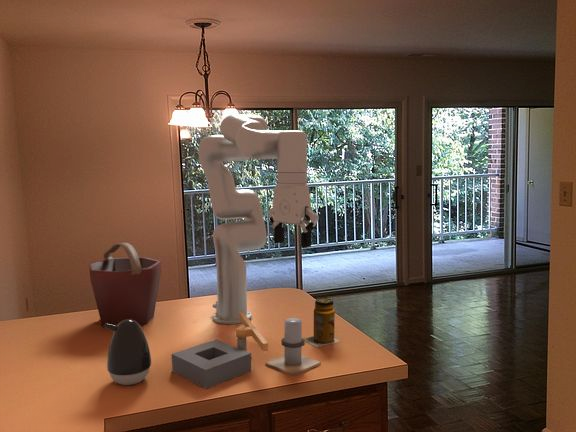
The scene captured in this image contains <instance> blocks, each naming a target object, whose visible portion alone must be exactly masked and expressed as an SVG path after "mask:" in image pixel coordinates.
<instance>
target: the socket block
mask: <svg viewBox="0 0 576 432" xmlns="http://www.w3.org/2000/svg"><path fill="white" fill-rule="evenodd" d="M236 341H237V342H236V344H237V345H236V346H235V345H232V344H230V343H227V342H224V341H222V340H219V339H217V338H216V339H213V340H209V341H207V342H203V343H201V344H198V345H194V346H192V347H188V348H184V349H183V350H179V351H177V352H173V353H171V372H172V373H174V374H177V375H178V376H181V377H182V378H184V379H186V380H188V381H190V382H192V383H193V384H196V385H198V386H199V387H201V388H204V389H205V390H207V389H209V388H213V387H215V386H216V385H217V386H218V385H220V384H222V383H224V382H227V381H229V380H232V379H234V378H237V377H239V376H241V375H244V374H247V373H249V372H251V371H252V360H251V359H252V353H251V352H249V351H247V337H246V338H237V337H236Z"/></svg>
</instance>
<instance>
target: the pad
mask: <svg viewBox="0 0 576 432" xmlns="http://www.w3.org/2000/svg"><path fill="white" fill-rule="evenodd" d="M321 363H322V362H321V361H319V360H316V359H313V358H312V357H311V358H310V357H308V356H305V355H302V354H301V364H299V365H295V366H291V365H287V364H285V363H284V355H281V356H279V357H277V358H274V359H272V360H268V361H266V362H265V366H267V367H270V368H272V369H274V370H277V371H280V372H283V373H285V374H287V375H290V376H292V377H295V376H298V375H301V374H303V373H304V372H308V371H309V370H312V369H313V368H315V367H318V366H321Z"/></svg>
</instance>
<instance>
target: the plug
mask: <svg viewBox="0 0 576 432" xmlns="http://www.w3.org/2000/svg"><path fill="white" fill-rule="evenodd" d="M302 328H303V322H302V319H300V318H297V317H296V318H295V317H289V318H286V319H284V332H283V333H284V335H283V336H284V337H282V338H281V339H280V341H281V342H280V343H281V346H283V347H284V348H283V349H284V355H283V356H284V363H285V364H287V365H291V366H295V365H299V364H301V355H302V347H303V346H305V344H306V343H305V342H306V341H305V340H304V338H303V337H302V335H303V333H302V332H303V331H302V330H303V329H302Z"/></svg>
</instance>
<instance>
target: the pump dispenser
mask: <svg viewBox="0 0 576 432" xmlns="http://www.w3.org/2000/svg"><path fill="white" fill-rule="evenodd" d="M104 328H105V329H108V330H110V331H112V332H113V334H112V336H111V339H110V342H109V347H108V351H107V360H106V368H107V369H106V370H107V372H108V373H109V375H110V377H111V379H112V380H113V381H114V382H115V383H116V384H119V385H123V386H131V385H136V384H138V383H140V382H142V381H143V380H144V379H145V378H146V377H147V376H148V374H149V372H150V369H151V366H152V356H151V355H152V354H151V351H150V346H149V342H148V339H147V337H146V334H145V332H144V330H143V329H142V327H141V325H139V324H138V323H137V322H136V321H135V320H132V319H125V320H123V321H121V322H120V323H119V324H118V325H117V326H115V325H112V324H108V323H106V324H105V327H104Z"/></svg>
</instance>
